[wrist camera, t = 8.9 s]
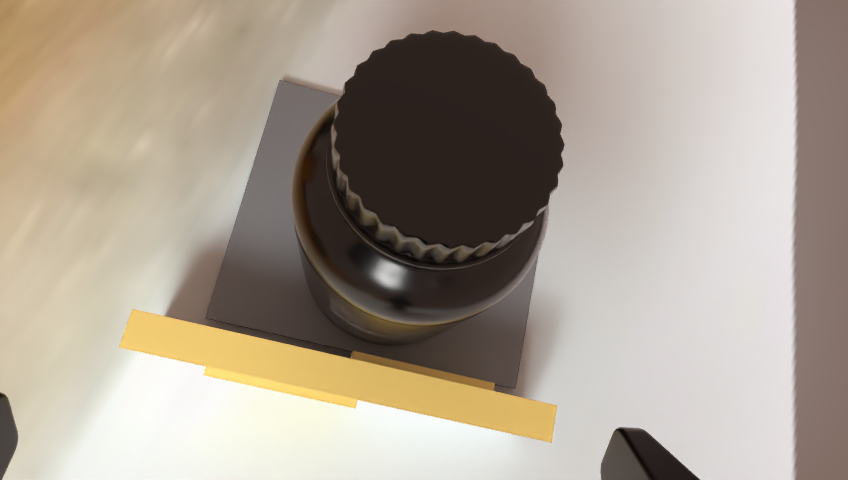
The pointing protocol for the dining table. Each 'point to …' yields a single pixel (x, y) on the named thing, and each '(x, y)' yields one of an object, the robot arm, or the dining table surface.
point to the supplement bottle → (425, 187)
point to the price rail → (338, 376)
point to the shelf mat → (285, 281)
